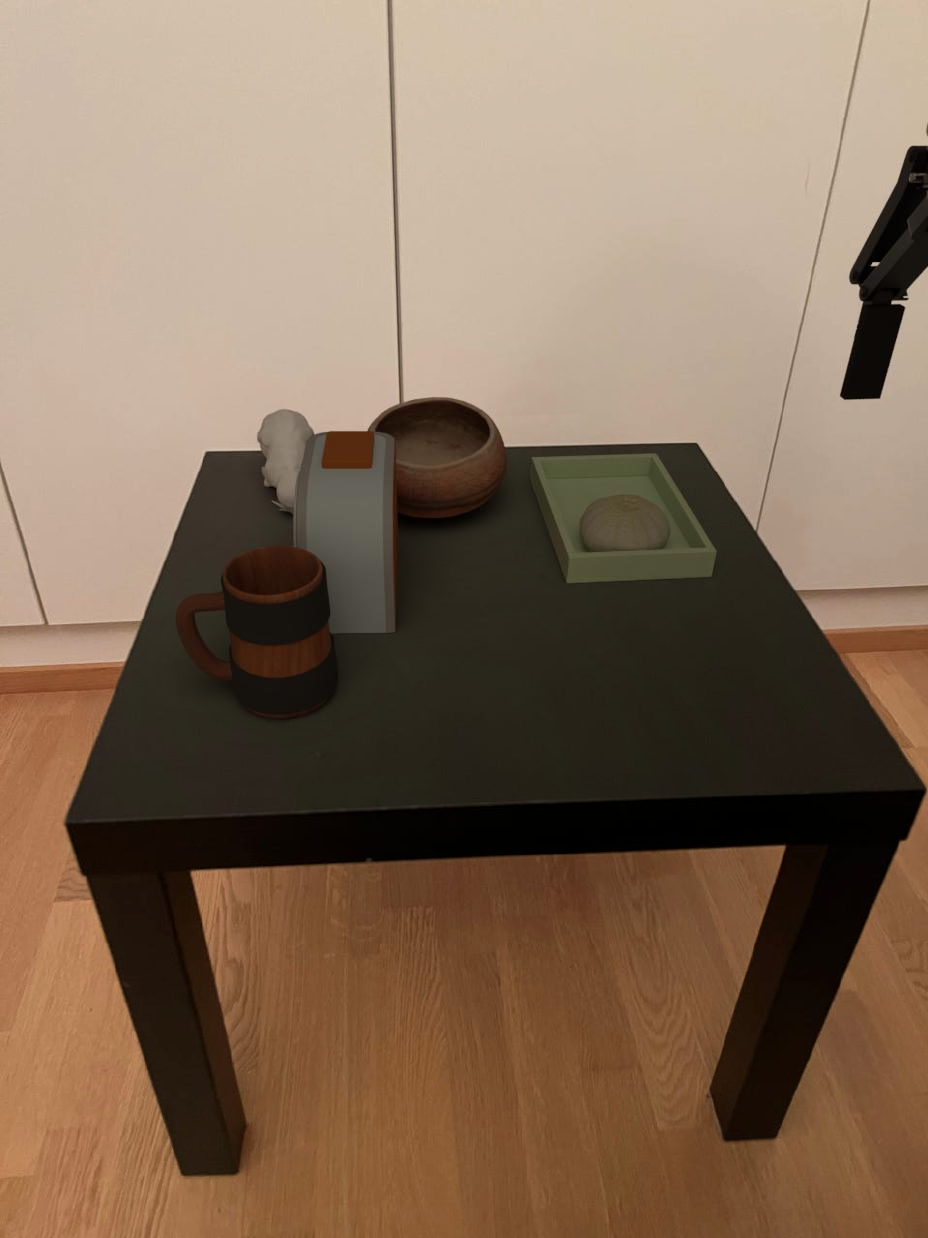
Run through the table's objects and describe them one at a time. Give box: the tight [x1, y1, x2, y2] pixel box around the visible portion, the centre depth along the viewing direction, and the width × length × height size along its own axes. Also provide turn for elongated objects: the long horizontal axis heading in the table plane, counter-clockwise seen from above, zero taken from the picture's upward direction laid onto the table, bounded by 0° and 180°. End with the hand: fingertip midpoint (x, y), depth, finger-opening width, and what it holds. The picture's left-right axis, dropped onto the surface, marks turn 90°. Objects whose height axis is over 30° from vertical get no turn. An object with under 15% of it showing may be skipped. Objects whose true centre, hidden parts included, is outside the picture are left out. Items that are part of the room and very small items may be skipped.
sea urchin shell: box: [579, 494, 671, 552], centre depth 96 cm, size 9×8×8 cm
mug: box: [175, 545, 339, 720], centre depth 75 cm, size 9×12×12 cm
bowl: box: [367, 396, 508, 519], centre depth 102 cm, size 16×16×10 cm
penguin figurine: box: [256, 408, 315, 515], centre depth 103 cm, size 6×8×12 cm
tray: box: [529, 452, 717, 584], centre depth 101 cm, size 22×15×3 cm
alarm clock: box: [292, 430, 399, 634], centre depth 87 cm, size 15×8×14 cm, turn 2°
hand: (907, 436), depth 63 cm, fingers open, 13 cm apart
